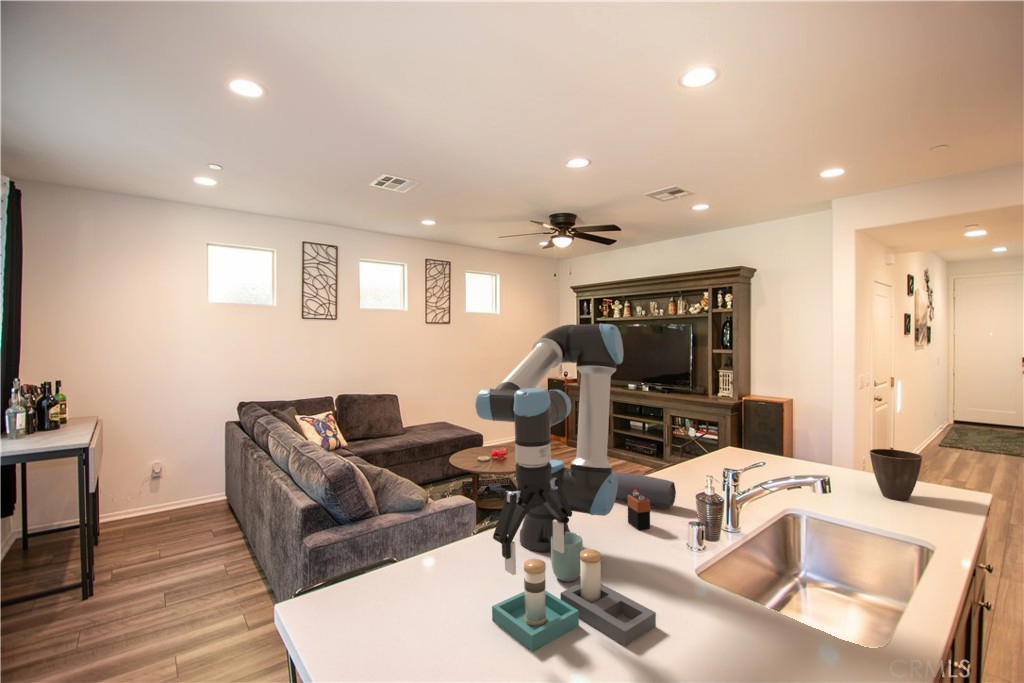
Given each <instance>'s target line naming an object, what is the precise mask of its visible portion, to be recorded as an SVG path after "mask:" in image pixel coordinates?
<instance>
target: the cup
mask: <svg viewBox="0 0 1024 683" xmlns="http://www.w3.org/2000/svg"><path fill="white" fill-rule="evenodd" d="M583 544H584V543H583V538H582V536H581V535H579V534H578V533H575V532H572V531H570V532H565V535H564V553H560V552H558V551H556V550H554V549H553V535H552V536H551V552H550V560H551V562H550V563H551V568H552V572H553V574H554V576H555V577H556V579H558V580H560V581H562V582H567V583H568V582H574V581H575V580H577V579H578V578H580V577H581V564H580V552H581V551H582V550H584V546H583Z"/></svg>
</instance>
